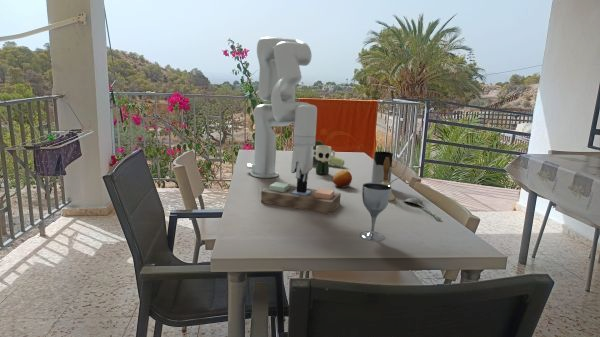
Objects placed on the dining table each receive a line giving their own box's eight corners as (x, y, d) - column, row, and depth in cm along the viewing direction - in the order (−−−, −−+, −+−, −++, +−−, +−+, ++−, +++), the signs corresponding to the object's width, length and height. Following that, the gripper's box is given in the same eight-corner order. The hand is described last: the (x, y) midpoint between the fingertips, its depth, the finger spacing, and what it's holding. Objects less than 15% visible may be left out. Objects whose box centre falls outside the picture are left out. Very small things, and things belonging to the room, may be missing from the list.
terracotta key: (313, 200, 137) (314, 192, 137) (318, 196, 143) (319, 188, 142) (329, 203, 136) (329, 194, 135) (333, 198, 141) (334, 190, 140)
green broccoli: (347, 166, 209) (349, 144, 207) (337, 169, 199) (339, 147, 197) (306, 159, 222) (308, 138, 219) (295, 162, 212) (296, 141, 209)
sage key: (269, 193, 143) (269, 185, 142) (275, 189, 148) (275, 181, 147) (283, 195, 141) (284, 187, 140) (289, 191, 146) (289, 184, 146)
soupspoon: (416, 203, 154) (400, 204, 153) (417, 194, 153) (401, 195, 152) (447, 221, 133) (429, 222, 131) (448, 211, 132) (429, 212, 131)
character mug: (311, 175, 185) (312, 147, 182) (309, 171, 192) (311, 144, 189) (334, 175, 186) (336, 148, 183) (332, 172, 193) (334, 145, 190)
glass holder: (371, 184, 174) (374, 150, 171) (404, 188, 170) (408, 154, 167) (368, 188, 166) (371, 153, 163) (402, 193, 162) (407, 157, 159)
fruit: (355, 186, 163) (346, 169, 163) (338, 194, 165) (329, 177, 165) (356, 181, 171) (348, 165, 170) (340, 189, 173) (331, 173, 172)
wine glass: (355, 230, 119) (359, 182, 116) (381, 231, 120) (386, 182, 116) (361, 241, 111) (366, 189, 108) (389, 241, 112) (395, 190, 109)
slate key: (290, 200, 140) (291, 192, 140) (296, 196, 146) (296, 188, 145) (305, 203, 139) (306, 194, 138) (311, 198, 144) (311, 190, 143)
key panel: (261, 202, 141) (261, 191, 140) (274, 193, 152) (275, 183, 151) (330, 213, 133) (331, 202, 132) (339, 204, 144) (340, 193, 143)
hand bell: (382, 201, 150) (386, 160, 146) (368, 195, 157) (372, 155, 153) (399, 199, 153) (404, 159, 150) (385, 193, 160) (389, 154, 157)
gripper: (301, 137, 146) (299, 185, 150) (286, 142, 132) (283, 195, 136) (321, 139, 143) (318, 188, 147) (307, 144, 129) (304, 198, 133)
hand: (301, 191), depth 141 cm, fingers closed
